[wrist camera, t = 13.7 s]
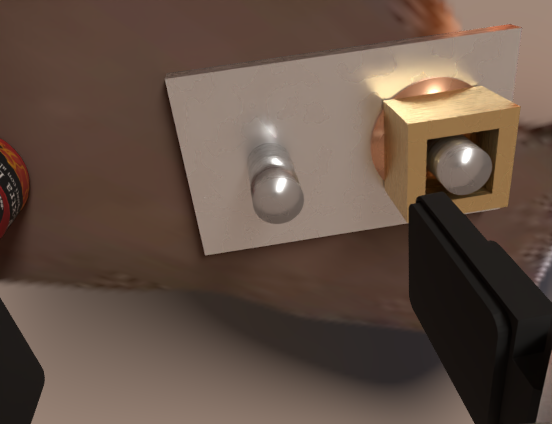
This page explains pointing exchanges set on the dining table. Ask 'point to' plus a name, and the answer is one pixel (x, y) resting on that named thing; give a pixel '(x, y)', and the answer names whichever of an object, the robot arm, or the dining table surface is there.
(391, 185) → the gold square frame
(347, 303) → the dining table surface
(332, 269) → the dining table surface
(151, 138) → the dining table surface
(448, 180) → the peg board
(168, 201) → the dining table surface
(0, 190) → the canned food
